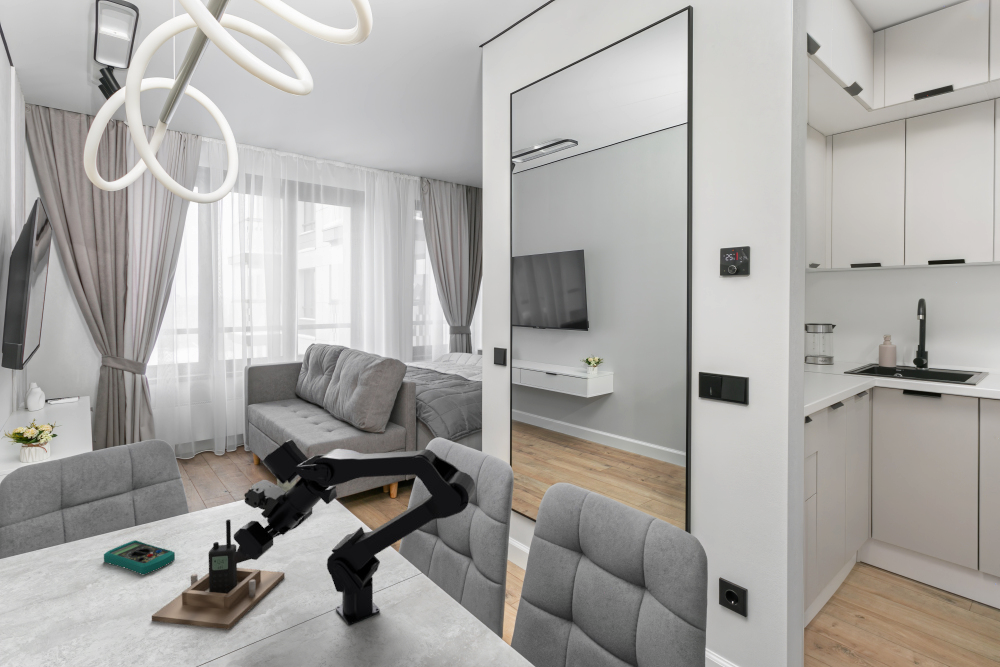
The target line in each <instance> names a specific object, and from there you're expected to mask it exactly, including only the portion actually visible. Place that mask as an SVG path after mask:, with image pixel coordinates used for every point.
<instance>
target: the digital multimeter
mask: <svg viewBox="0 0 1000 667" xmlns="http://www.w3.org/2000/svg"><path fill="white" fill-rule="evenodd" d="M175 556H176V555H175V551H173V550H170V549H166V548H162V547H159V546H154V545H152V544H148V543H146V542H142V541H138V540H135V539H134V540H132V541H129V542H126V543H124V544H121V545H119V546H117V547H114V548H112V549H110V550H108V551H106V552H105V553H104V554H103V562H104V563H106V564H109V563H111V564H110V565H112V564H114V565H113V566H116V565H118V566H117V567H119V566H121V567H120V568H123V567H125V568H124V569H126V568H128V569H127V570H129V569H130V570H129V571H131V570H133V571H132V572H134V571H136V572H135V573H137V572H138V574H139V573H141V574H140V575H142V574H145V575H147V574H149V573H148V572H150V573H152V572H151V571H153V570H155V571H157V570H159V569H158V568H160V567H162V566H164V567H166V566H167V565H169V564H170V562H171V561H172V562H174V561H175V560H176V557H175ZM173 560H174V561H173ZM172 562H171V563H172ZM168 563H169V564H168ZM166 564H167V565H166ZM165 565H166V566H165ZM162 568H163V567H162ZM156 569H157V570H156ZM160 569H161V568H160ZM153 572H154V571H153ZM146 573H147V574H146Z"/></svg>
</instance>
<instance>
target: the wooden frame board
mask: <svg viewBox="0 0 1000 667" xmlns="http://www.w3.org/2000/svg"><path fill="white" fill-rule="evenodd" d="M285 573H286V572H282V571H281V572H280V571H270V570H261V569H252V568H243V567H237V586H236V587H235V588H234V589H232V590H231V591H230V592H229V593H228V594H225V593H216V592H209V572H208V573H206V574H205V575H204V576H202V577H201V578H200V579H199V578H198V573H194V574H191V575H190V586H189V587H187V588H186V589H184V590H183V591H182V592H181V593H180V594H179V595H178V596H177V597H175V598H173V599H172V600H171V601H170V602H169V603H167V604H166V605H164V606H162V608H160V609H159V610H157V611H156V612H154V613H153V614H152V615H151V622H160V623H166V624H167V623H168V624H174V625H175V624H176V625H184V626H185V625H186V626H195V627H203V628H210V629H211V628H212V629H219V630H220V629H222V630H228V631H229V630H230V629H231V628H232V627H234V626H235V625H236V623H238V622H239V621H240V620H241V619H242V618H243V617H244V616H246V614H247V613H248V612H249V611H250V610H251V609H253V607H255V606H256V605H257V604H258V603H259V602H260V601H261V600H262V599H263V598H264V597H265V596H266V595H267V594H268V593H269V592H270V591H271V590H273V589H274V588H275V587H276V586H277V585H278V584H280V582H281V581H282V580H283V579H284V578H285V576H286V575H285Z"/></svg>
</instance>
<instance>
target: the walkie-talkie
mask: <svg viewBox="0 0 1000 667" xmlns="http://www.w3.org/2000/svg"><path fill="white" fill-rule="evenodd" d="M225 526H226V527H225V530H226V531H225V534H226V537H225V538H226V540H225V541H226V544H220V543H219V542H218V541H215V542H214V543H213V546H212V547H211V548H210V550H209V551H208V573H209V592H216V593H225V594H228V593H229V592H230V591H231V590H232V589H234V588H235V587H236V586H237V568H238V565H237V564H238V563H237V564H236V563H235V562H234V561H233V558H234V556H235V554H236V552H237V545H236V544H234V543H232V535H231V533H232V529H231V528H232V527H231V519H226V520H225Z"/></svg>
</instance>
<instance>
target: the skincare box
mask: <svg viewBox="0 0 1000 667" xmlns="http://www.w3.org/2000/svg"><path fill="white" fill-rule="evenodd" d="M300 478H301V477H298V478H297V479H296V480H295V481H293V482H292V483H289V482H288V481H287V482H286V483H285V484H282V483H281V482H280V481H279V480H278V479H277V478H276V485H277V486H279V487H281V488H282V490H284V491H286V492H287V491H288V490H289V489H291V488H292V487H293V486H294V485H295V484H296V483H297V482H298V480H299V479H300Z"/></svg>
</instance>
